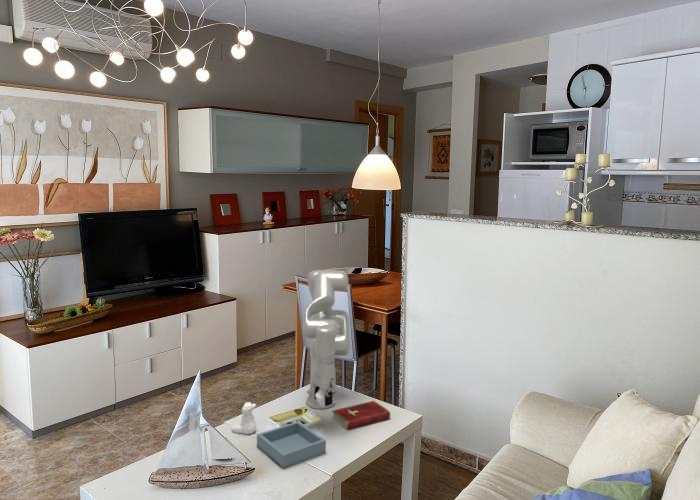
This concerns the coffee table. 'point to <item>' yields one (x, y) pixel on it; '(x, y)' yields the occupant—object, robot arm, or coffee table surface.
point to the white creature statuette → (246, 420)
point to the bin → (291, 444)
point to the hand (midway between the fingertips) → (323, 401)
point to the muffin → (321, 397)
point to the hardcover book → (361, 415)
